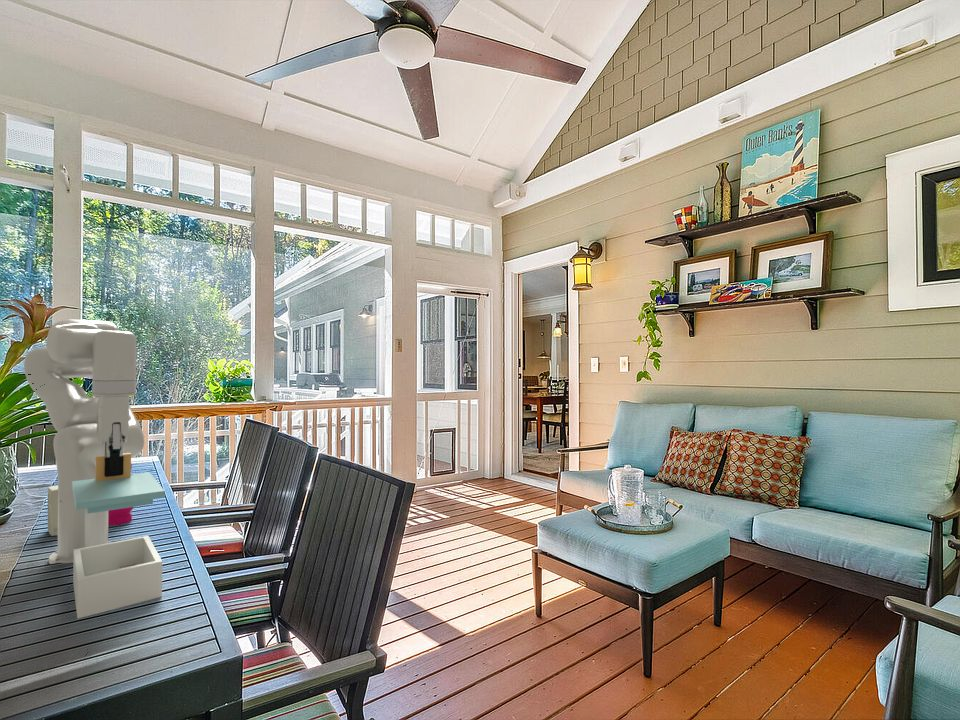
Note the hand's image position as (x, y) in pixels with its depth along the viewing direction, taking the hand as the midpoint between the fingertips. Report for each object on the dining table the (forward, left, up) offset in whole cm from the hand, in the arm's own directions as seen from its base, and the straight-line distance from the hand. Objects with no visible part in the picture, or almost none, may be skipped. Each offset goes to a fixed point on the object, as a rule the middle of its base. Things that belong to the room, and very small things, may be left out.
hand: (113, 474), depth 107 cm
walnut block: (+4, +3, -22) cm, 22 cm away
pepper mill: (-44, +5, -23) cm, 50 cm away
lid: (+8, 0, -4) cm, 8 cm away
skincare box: (-44, -8, -23) cm, 51 cm away
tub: (+8, 0, -23) cm, 24 cm away
